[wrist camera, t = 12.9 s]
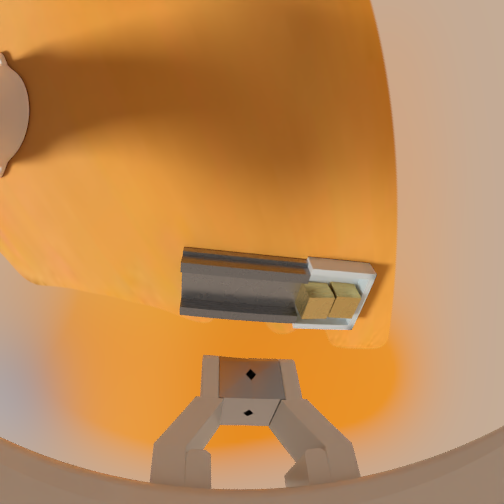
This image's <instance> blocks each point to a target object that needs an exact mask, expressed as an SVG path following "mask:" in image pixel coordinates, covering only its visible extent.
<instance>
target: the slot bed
mask: <svg viewBox="0 0 504 504" xmlns="http://www.w3.org/2000/svg"><path fill="white" fill-rule="evenodd" d="M308 264H309V263H308V261H307V260H306V259H296V258H286V257H276V256H266V255H257V254H247V253H237V252H227V251H218V250H208V249H198V248H189V247H184V250H183V256H182V261H181V272H182V298H181V303H180V315H189V316H198V317H209V318H221V319H232V320H246V321H259V322H276V323H295V322H296V319H297V313H296V309H295V306H296V305H295V301H296V298H297V295H298V293H299V290H300V287H301V284H302V283H303V284H308V282H309V279H310V276H311V274H310V271H309V269H308Z"/></svg>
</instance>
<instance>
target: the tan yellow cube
mask: <svg viewBox="0 0 504 504" xmlns="http://www.w3.org/2000/svg"><path fill="white" fill-rule="evenodd" d="M334 300H335V296H334V295H333V293H332V291H331V289H330V288H329V286H328V284H327V283H318V282H308V284H303V283H302V284H301V287H300V290H299V293H298V295H297V298H296V301H295V305H296V307H297V310H298V312H299V314H300V317H301V319H326V318H327V316H328V314H329V311H330V309H331V307H332V304H333V302H334Z"/></svg>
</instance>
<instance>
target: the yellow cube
mask: <svg viewBox="0 0 504 504" xmlns="http://www.w3.org/2000/svg"><path fill="white" fill-rule="evenodd" d="M329 288H330V289H331V291H332V293H333V295H334V296H335V300H334V302H333V304H332V307H331V309H330V311H329V314H328V317H330V318H348V319H352V317H353V315H354V313H355V311H356V309H357V307H358V305H359V303H360V300H361V296H360V295H359V293H358V291H357V289H356V287H355V285H354V284H350V283H340V282H330V284H329Z"/></svg>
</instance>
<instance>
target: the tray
mask: <svg viewBox="0 0 504 504" xmlns="http://www.w3.org/2000/svg"><path fill="white" fill-rule="evenodd" d="M307 261H308V263H309V264H308V269H309V271H310V274H311V276H310V279H309V282H318V283H327V284H328V286H329V284H330V282H340V283H350V284H354V285H355V287H356V289H357V291H358V293H359V295H360V296H361V300H360V303H359V305H358V307H357V309H356V311H355V313H354V315H353V317H352V319H348V318H330V317H328V316H327V318H326V319H301V317H300V314H299V312H298V310H297V307H296V306H295V309H296V313H297V319H296V322H295V323H292V325H293V328H303V329H305V328H306V329H340V330H352V328H353V326H354V324H355V322H356V320H357V318H358V315H359V313H360V311H361V309H362V307H363V305H364V303H365V301H366V298H367V296H368V294H369V292H370V289H371V287H372V285H373V283H374V280H375V278H376V276H377V274H376V272H375V271H374V269H373V268H372V266H371V265H370V263H364V262H355V261H345V260H336V259H326V258H316V257H308V258H307Z"/></svg>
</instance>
